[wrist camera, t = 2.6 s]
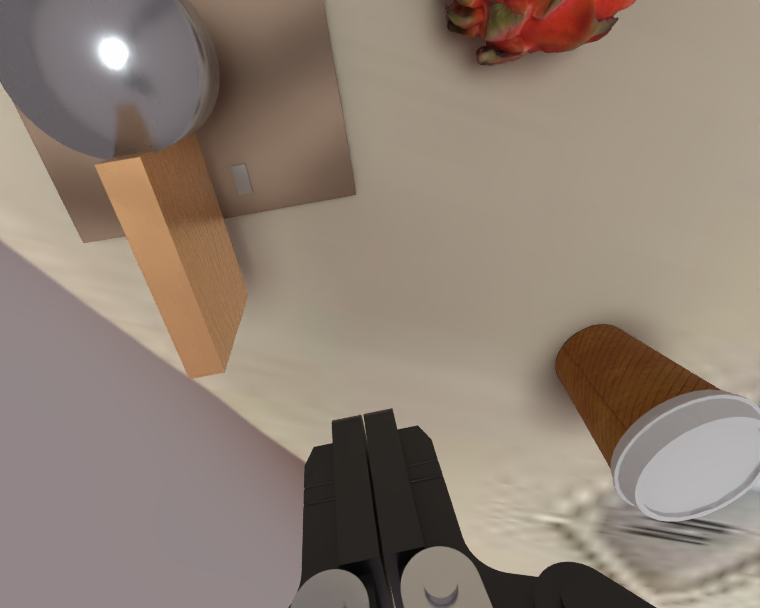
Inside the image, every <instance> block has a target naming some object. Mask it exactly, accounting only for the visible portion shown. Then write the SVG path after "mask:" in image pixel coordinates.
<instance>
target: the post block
mask: <svg viewBox="0 0 760 608" xmlns="http://www.w3.org/2000/svg"><path fill="white" fill-rule="evenodd" d="M189 2H190V3H191V4H192V5H193V6H194V8H195V9H196V10H197V12H198V13H199V14H200V16H201V17H202V19H203V21H204V22H205V24H206V26H207V28H208V30H209V32H210V34H211V36H212V39H213V42H214V45H215V48H216V51H217V56H218V60H219V69H220V85H219V92H218V96H217V100H216V103H215V106H214V108H213V110H212V113H211V114H210V116H209V117H208V119H207V121H206V122H205V123H204V124H203V125H202V126H201V128H200V129H198V130H197V131H196V132H195V133H196V136H197V139H198V142H199V145H200V148H201V152H202V155H203V158H204V161H205V164H206V167H207V170H208V173H209V176H210V179H211V182H212V185H213V188H214V191H215V194H216V198H217V201H218V204H219V207H220V210H221V213H222V216H223V218H228V217H234V216H239V215H245V214H250V213H256V212H262V211H267V210H273V209H278V208H284V207H290V206H295V205H301V204H306V203H312V202H318V201H323V200H329V199H334V198H340V197H346V196H351V195H356V191H355V185H354V179H353V173H352V167H351V161H350V156H349V150H348V144H347V138H346V132H345V126H344V121H343V115H342V109H341V103H340V97H339V91H338V85H337V80H336V74H335V68H334V62H333V56H332V50H331V45H330V39H329V33H328V27H327V21H326V15H325V10H324V4H323V0H189ZM12 101H13V100H12ZM13 103H14V102H13ZM14 105H15V107H16V109H17V111H18V113H19V115H20V117H21V119H22V121H23V123H24V125H25V127H26V129H27V131H28V133H29V135H30V137H31V139H32V141H33V143H34V145H35V147H36V149H37V151H38V153H39V155H40V157H41V159H42V161H43V163H44V165H45V167H46V169H47V171H48V173H49V175H50V177H51V179H52V181H53V183H54V185H55V187H56V189H57V191H58V193H59V195H60V197H61V199H62V201H63V203H64V205H65V207H66V209H67V211H68V213H69V215H70V217H71V219H72V221H73V223H74V225H75V227H76V229H77V231H78V233H79V235H80V237H81V239H82V241H83V243H88V242H94V241H99V240H105V239H110V238H116V237H122V236H126V235H125V233H124V230H123V228H122V226H121V224H120V221H119V219H118V217H117V215H116V212H115V210H114V208H113V206H112V203H111V201H110V199H109V197H108V194H107V192H106V190H105V188H104V185H103V183H102V181H101V179H100V176H99V174H98V172H97V170H96V167H95V164H97V163H100V162H102V161H105V160H107V159H101V158H96V157H93V156H89V155H85V154H83V153H80V152H78V151H75V150H73V149H71V148H69V147H67V146H65V145H63V144H61V143H59V142H58V141H56V140H55V139H53V138H52V137H50V136H49V135H47V134H46V133H45V132H43V131H42V130H41V129H40V128H38V127H37V126H36V125H35V124H34V123H33V122H32V121H31V120H29V119H28V118H27V117H26V116H25V115H24V114H23V112H22V111H21V110H20V109H19V108H18V107H17V105H16V104H15V103H14Z"/></svg>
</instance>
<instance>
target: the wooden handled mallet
mask: <svg viewBox="0 0 760 608" xmlns="http://www.w3.org/2000/svg"><path fill="white" fill-rule="evenodd" d="M0 82H1V84H2V85H3V87H4V89H5V91H6V92H7V93H8V95H9V96H10V98H11V99H12V100H13V102H14V103H15V104H16V105H17V107H18V108H19V109H20V110H21V111H22V112H23V114H24V115H25V116H26V117H27V118H28V119H29V120H31V121H32V122H33V123H34V124H35V125H36V126H37V127H38V128H40V129H41V130H42V131H43V132H45V133H46V134H47V135H49V136H50V137H52V138H53V139H55V140H56V141H58V142H59V143H61V144H63V145H65V146H67V147H69V148H71V149H73V150H75V151H78V152H80V153H83V154H85V155H89V156H93V157H96V158H101V159H107V160H105V161H102V162H100V163H97V164H95V167H96V170H97V172H98V174H99V176H100V179H101V181H102V183H103V185H104V188H105V190H106V192H107V194H108V197H109V199H110V201H111V203H112V206H113V208H114V210H115V212H116V215H117V217H118V219H119V221H120V224H121V226H122V228H123V230H124V233H125V235H126V237H127V239H128V242H129V244H130V246H131V248H132V251H133V253H134V255H135V257H136V260H137V262H138V264H139V266H140V269H141V271H142V273H143V275H144V278H145V280H146V282H147V284H148V287H149V289H150V291H151V293H152V296H153V298H154V300H155V302H156V305H157V307H158V309H159V311H160V314H161V316H162V318H163V320H164V323H165V325H166V327H167V329H168V332H169V334H170V336H171V338H172V341H173V343H174V345H175V347H176V350H177V352H178V354H179V356H180V359H181V361H182V363H183V365H184V368H185V370H186V372H187V374H188V377H189V379H193V378H198V377H203V376H208V375H214V374H219V373H224V372H225V369H226V366H227V363H228V360H229V356H230V353H231V350H232V347H233V343H234V340H235V337H236V334H237V330H238V327H239V324H240V321H241V317H242V314H243V311H244V307H245V304H246V301H247V298H248V293H247V290H246V286H245V283H244V280H243V277H242V274H241V271H240V268H239V265H238V262H237V259H236V256H235V253H234V250H233V247H232V244H231V240H230V237H229V234H228V231H227V228H226V225H225V222H224V219H223V216H222V213H221V210H220V207H219V204H218V201H217V198H216V194H215V191H214V188H213V185H212V182H211V179H210V176H209V173H208V170H207V167H206V164H205V161H204V158H203V155H202V152H201V148H200V145H199V142H198V139H197V136H196V133H195V132H196V131H197V130H198V129H200V128H201V126H202V125H203V124H204V123H205V122H206V121H207V119H208V117H209V116H210V114H211V113H212V110H213V108H214V106H215V103H216V100H217V96H218V92H219V85H220V69H219V60H218V56H217V51H216V48H215V45H214V42H213V39H212V36H211V34H210V32H209V30H208V28H207V26H206V24H205V22H204V21H203V19H202V17H201V16H200V14H199V13H198V12H197V10H196V9H195V8H194V6H193V5H192V4H191V3H190V2H189V0H0Z"/></svg>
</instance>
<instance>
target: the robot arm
mask: <svg viewBox="0 0 760 608" xmlns="http://www.w3.org/2000/svg"><path fill="white" fill-rule="evenodd" d="M364 422H365V429H366V433H365V429H364V424H363V420H362V416H361V415H358V416H353V417H348V418H343V419H338V420H333V421H332V439H333V443H331V444H326V445H321V446H317V447H314V448H313V450H312V452H311V454H310V456H309V458H308V460H307V462H306V464H305V473H304V488H305V490H304V509H303V545H302V575H301V582H300V586H299V589H298V592H297V594H296V595H295V597H294V599H293V601H292V603H291V605H290V606H289V608H394V604H393V598H392V593H393V597H394V601H395V606H396V608H656V607H654V606H653V605H651V604H650V603H648V602H646V601H645V600H643V599H642V598H640V597H638V596H637V595H635V594H634V593H632V592H630V591H629V590H627V589H626V588H624V587H622V586H621V585H619V584H618V583H616V582H614V581H613V580H611V579H610V578H608V577H606V576H605V575H603V574H602V573H600V572H598V571H597V570H595V569H593V568H591V567H589V566H586V565H583V564H580V563H575V562H560V563H556V564H553V565H551V566H549V567H547V568H546V569H545V570H544V571H543V572H542V573H541V574H540V576H539V577H534V576H526V575H519V574H511V573H505V572H500V571H498V570H495V569H492V568H490V567H488V566H487V565H485V564H483V563H482V562H481V561H479V560H478V559H477V558H476V557H475V556H474V555H473V554H472V553H471V551H470V550H469V549H468V547H467V545H466V544H465V542H464V539H463V537H462V534H461V531H460V527H459V524H458V521H457V518H456V515H455V512H454V509H453V506H452V502H451V499H450V496H449V493H448V490H447V487H446V484H445V481H444V477H443V475H442V471H441V468H440V465H439V462H438V459H437V456H436V452H435V449H434V446H433V443H432V440H431V439H430V438H429V437H428V436H427V434H426V433H425V432H424V431H423V430H422V429H421V428H420V427H419V426H413V427H408V428H403V429H398V430H397V426H396V422H395V418H394V413H393V409H392V408H391V409H386V410H381V411H376V412H372V413H367V414H364ZM366 436H367V438H366ZM391 589H392V592H391Z"/></svg>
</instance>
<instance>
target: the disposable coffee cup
mask: <svg viewBox="0 0 760 608" xmlns="http://www.w3.org/2000/svg"><path fill="white" fill-rule="evenodd" d="M556 372H557V375H558V377H559V379H560V380H561V382H562V384H563V385H564V387H565V389H566V391H567V393H568V394H569V396H570V398H571V400H572V401H573V403H574V405H575V407H576V409H577V410H578V412H579V414H580V416H581V417H582V419H583V421H584V423H585V424H586V426H587V428H588V430H589V432H590V433H591V435H592V437H593V439H594V440H595V442H596V444H597V446H598V447H599V449H600V451H601V453H602V454H603V456H604V458H605V460H606V461H607V463H608V465H609V467H610V469H611V473H612V476H613V483H614V487H615V488H616V490H617V492H618V494H619V495H620V497H621V498H622V499H623V500H625V501H626V502H627V503H629V504H631V505H633V506H636V507H637V508H638V509H639V510H640V511H641V512H643V513H644V514H645V515H647V516H649V517H651V518H654V519H656V520H660V521H683V520H688V519H693V518H697V517H701V516H704V515H707V514H709V513H712V512H714V511H716V510H718V509H720V508H722V507H724V506H726V505H728V504H730V503H731V502H733V501H734V500H736V499H738V498H739V497H741V496H742V495H743V494H744V493H746V492H747V491H748V490H749V489H750V488H751V487H753V486H754V485H755V484H756V483H757V482H758V481H759V479H760V408H759V407H758V406H757V405H756V404H755V403H753V402H752V401H750V400H749V399H747V398H745V397H742V396H739V395H737V394H732V393H729V392H726V391H723V390H720V389H718V388H716V387H715V386H714V385H712V384H710V383H708V382H707V381H705V380H703V379H702V378H699V376H697V375H695V374H694V373H691V372H690V371H689V370H687V369H685V368H683V367H682V366H680V365H679V364H676V363H675V362H674V361H672V360H670V359H669V358H667V357H665V356H664V355H662V354H661V353H659V352H657V351H655V350H654V349H652V348H650V347H648V346H647V345H645V344H644V343H642V342H640V341H639V340H636V338H634V337H632V336H630V335H629V334H627V333H625V332H624V331H622V330H621V329H619V328H617V327H615V326H612V325H596V326H592V327H589V328H586V329H584V330H582V331H580V332H579V333H577V334H575V335H574V336H573V337H572V338H570V339H569V340H568V341H567V342H566V343H565V345H564V346H563V348H562V349H561V351H560V352H559V355H558V357H557V361H556Z"/></svg>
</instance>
